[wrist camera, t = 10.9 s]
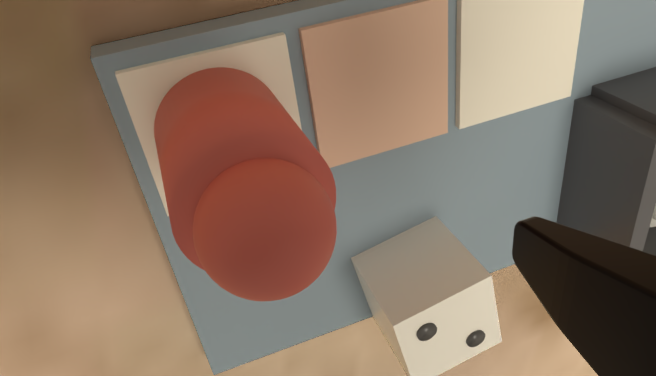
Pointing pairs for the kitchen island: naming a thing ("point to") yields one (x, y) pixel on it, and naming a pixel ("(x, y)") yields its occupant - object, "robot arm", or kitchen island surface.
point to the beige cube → (429, 298)
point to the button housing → (613, 162)
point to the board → (385, 127)
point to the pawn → (244, 185)
